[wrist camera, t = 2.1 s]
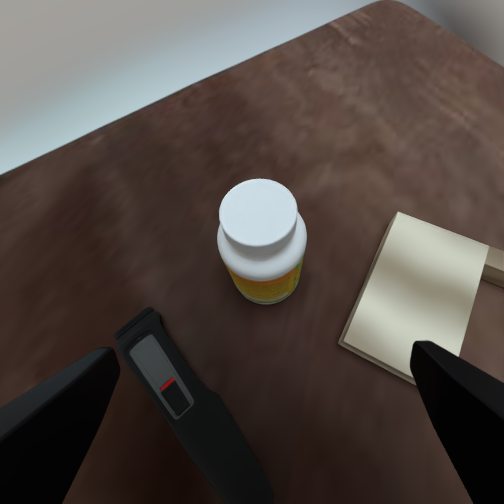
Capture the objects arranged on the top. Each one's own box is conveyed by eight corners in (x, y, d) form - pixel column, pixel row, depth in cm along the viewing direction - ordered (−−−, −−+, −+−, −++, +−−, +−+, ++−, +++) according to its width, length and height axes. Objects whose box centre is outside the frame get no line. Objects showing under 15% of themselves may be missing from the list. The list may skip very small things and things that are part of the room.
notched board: (624, 496, 16) (670, 513, 14) (337, 343, 20) (343, 341, 18) (637, 321, 19) (675, 316, 17) (388, 224, 24) (397, 211, 22)
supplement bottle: (304, 301, 22) (322, 253, 13) (235, 309, 22) (205, 266, 13) (294, 239, 24) (303, 161, 15) (232, 246, 24) (204, 173, 15)
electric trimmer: (242, 534, 17) (235, 568, 14) (116, 336, 22) (92, 331, 19) (287, 484, 18) (290, 507, 15) (155, 304, 23) (138, 295, 20)
